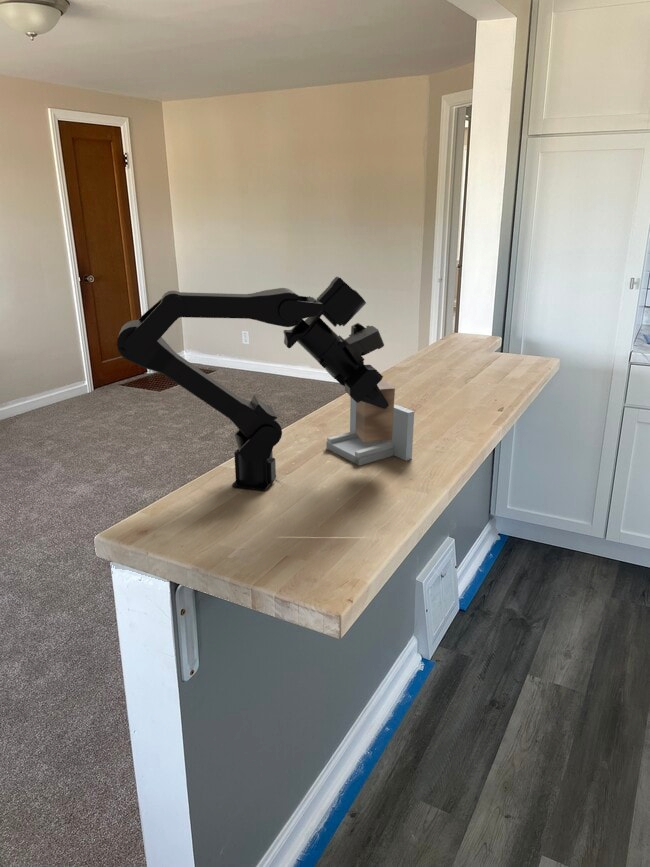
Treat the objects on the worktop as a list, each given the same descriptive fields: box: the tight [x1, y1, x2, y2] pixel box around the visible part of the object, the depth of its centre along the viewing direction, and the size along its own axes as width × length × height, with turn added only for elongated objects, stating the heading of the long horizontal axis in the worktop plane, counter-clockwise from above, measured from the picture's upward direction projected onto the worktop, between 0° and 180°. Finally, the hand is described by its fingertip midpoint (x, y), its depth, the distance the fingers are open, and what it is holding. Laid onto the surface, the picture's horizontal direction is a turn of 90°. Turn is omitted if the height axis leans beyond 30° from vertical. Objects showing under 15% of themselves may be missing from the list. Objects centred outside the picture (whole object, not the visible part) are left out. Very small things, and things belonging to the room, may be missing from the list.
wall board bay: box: [325, 397, 415, 467], centre depth 131 cm, size 11×18×10 cm, turn 36°
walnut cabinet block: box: [355, 380, 396, 442], centre depth 119 cm, size 6×6×10 cm
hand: (381, 402), depth 119 cm, fingers closed on walnut cabinet block, 5 cm apart
